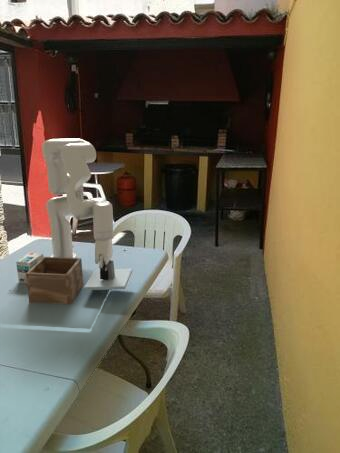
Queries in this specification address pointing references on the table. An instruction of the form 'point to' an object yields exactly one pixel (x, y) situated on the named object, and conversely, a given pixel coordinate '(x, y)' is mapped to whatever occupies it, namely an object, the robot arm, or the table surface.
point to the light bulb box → (27, 265)
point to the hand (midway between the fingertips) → (105, 276)
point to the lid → (109, 279)
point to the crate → (55, 280)
